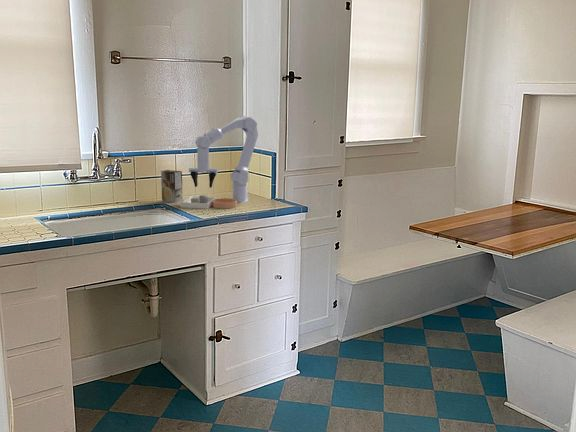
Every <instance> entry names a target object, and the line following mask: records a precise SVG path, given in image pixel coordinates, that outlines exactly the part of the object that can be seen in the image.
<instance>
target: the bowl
mask: <svg viewBox="0 0 576 432" xmlns="http://www.w3.org/2000/svg"><path fill="white" fill-rule="evenodd" d="M211 207H212V208H213V209H214V208H215V209H221V210H223V209H224V210H225V209H226V210H228V209H230V210H231V209H235V208H237V207H238V202H237V200H236V199H233V198H229V197H227V198H225V197H224V198H219V197H218V199H214V200H212V206H211Z"/></svg>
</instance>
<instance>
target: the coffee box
mask: <svg viewBox="0 0 576 432" xmlns="http://www.w3.org/2000/svg"><path fill="white" fill-rule="evenodd" d="M160 181H161V182H160V183H161V184H160V185H161V202H167V203H180V202H182V201H184V200H183V199H184V198H183V172H182V170H173V169H165V170H162V171H160Z"/></svg>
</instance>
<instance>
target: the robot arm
mask: <svg viewBox="0 0 576 432" xmlns="http://www.w3.org/2000/svg"><path fill="white" fill-rule="evenodd" d="M235 129H242V130H243V131H244V134H245V135H246V138H245V142H244V144H243V148H242V151H241V154H240V157H239V161H238V163H237V166H235V168H234V171H233V172H231V175H230V179H231V181H232V199H236V200H237V203H245V204H246V203H247V202H248V201H249V200H250V199H249V198H248V186H247V183H248V182H249V173H250V172H249V166H250V162H251V159H252V156H253V153H254V151H255V146H256V143H257V140H258V138H259V137H258V136H259V133H258V123H257V121H256V118H254V117H253V116H246V115H241V116H240V117H237V118H235V119H234V120H232V121H230V122H229V123H227V124H226V125H224V126H222V127H221V128H218V127H216V128H215V127H214V128H211V130H209V131H208V132H204V133H203V135H199V136H197V138H196V140H195V145H196V146H197V154H196V155H197V159H196V160H197V161H196V162H197V163H196V164H197V167H189V168H188V173H189V174H190V176H191V179H192V181H193V183H194V188H196V187H198V178H199V177H198V174H199V173H201V174H202V173H203V174H204V173H205V174H208V177H209V178H208V180H209V181H208V182H209V188H212V187H213V183H214V180H215V178H216V176H217V174H218V172H219V170H218V169H217V168H210V150H209V148H210V146H211V144H214V143H215V142H218V141H220V140H221V139H222V138H223V136H224V135H225V134H227V133H229V132H231V131H233V130H235Z"/></svg>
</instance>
